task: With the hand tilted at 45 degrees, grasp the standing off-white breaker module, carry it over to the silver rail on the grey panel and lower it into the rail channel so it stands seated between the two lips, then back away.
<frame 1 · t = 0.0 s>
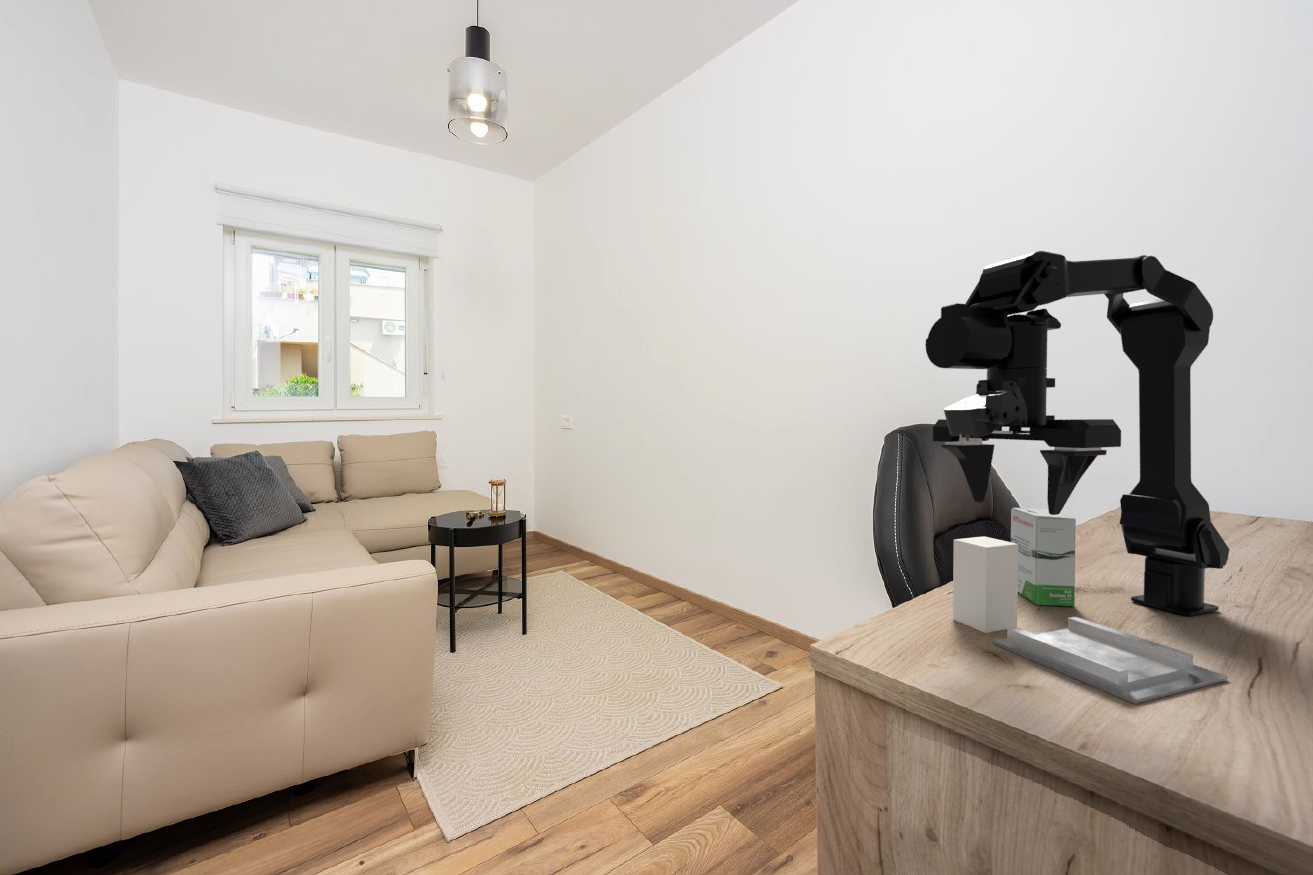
hand: (1014, 508, 64), 15 cm above the table, tool pointing down, fingers open, 9 cm apart
rail panel: (1094, 661, 58), on the table
module: (984, 623, 69), on the table
ink box: (1040, 597, 79), on the table
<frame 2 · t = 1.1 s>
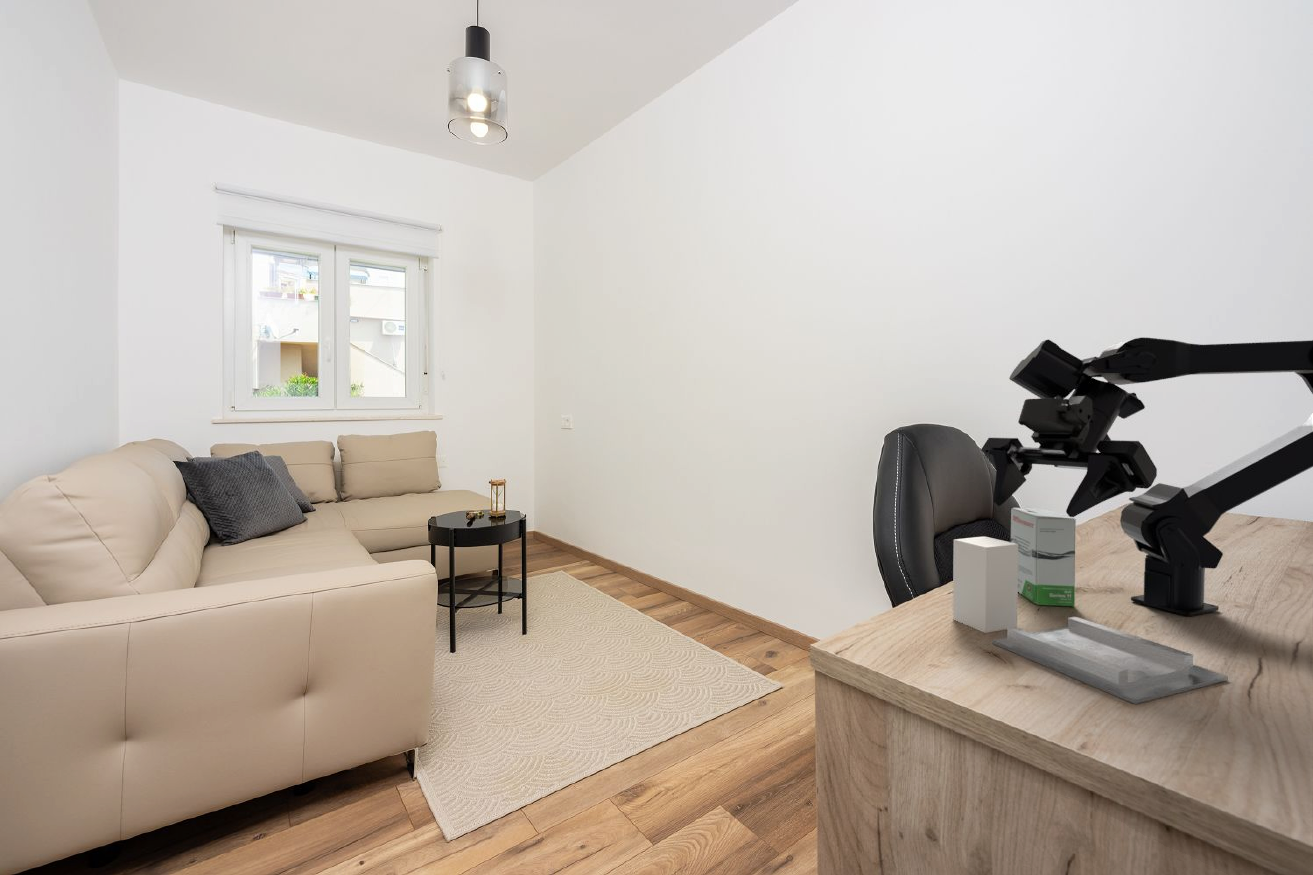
hand: (1030, 509, 71), 13 cm above the table, tool tilted 45°, fingers open, 9 cm apart
nothing on the table moved.
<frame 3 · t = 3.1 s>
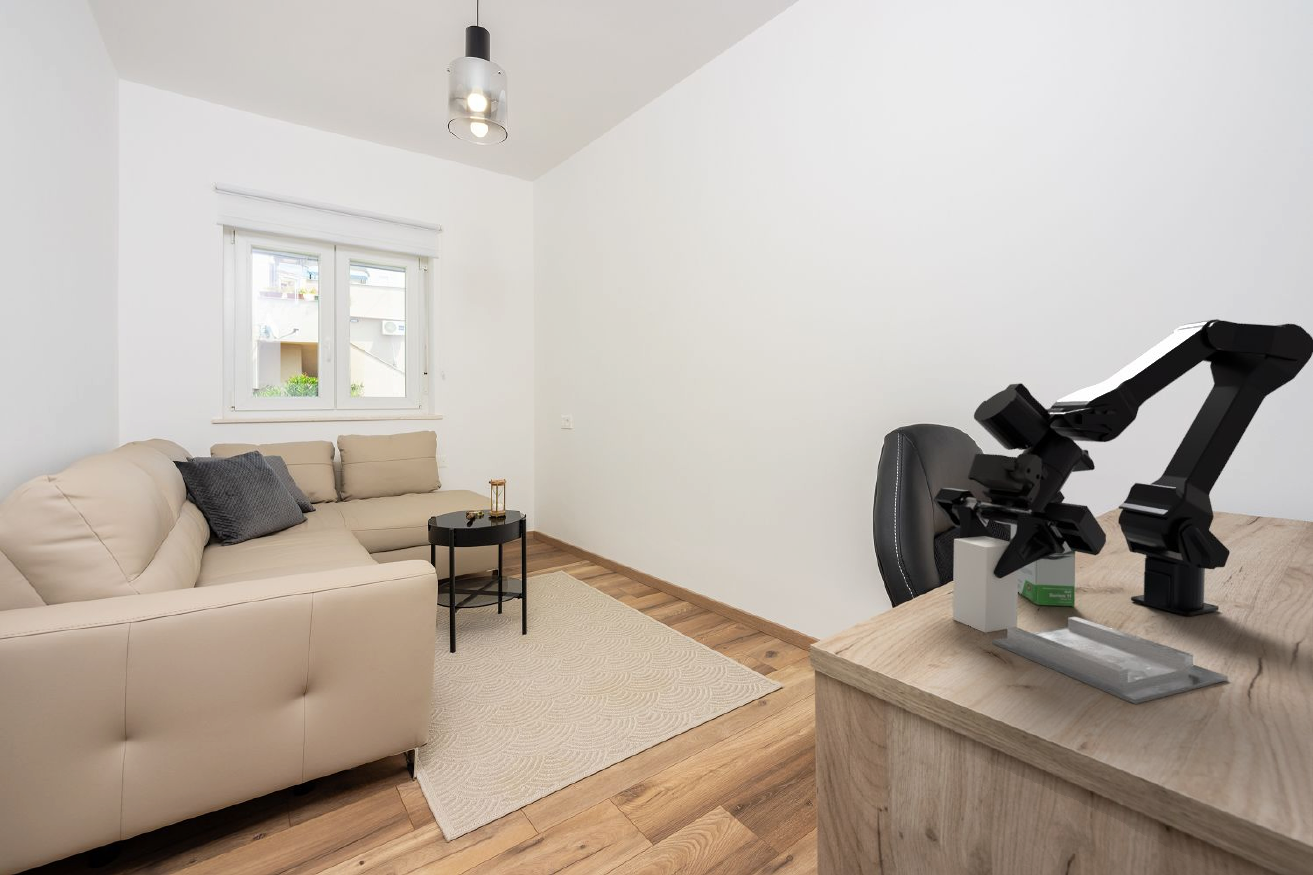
hand: (976, 570, 68), 7 cm above the table, tool tilted 45°, fingers closed on module, 5 cm apart
module: (984, 622, 69), on the table, touching gripper
everything else where it was.
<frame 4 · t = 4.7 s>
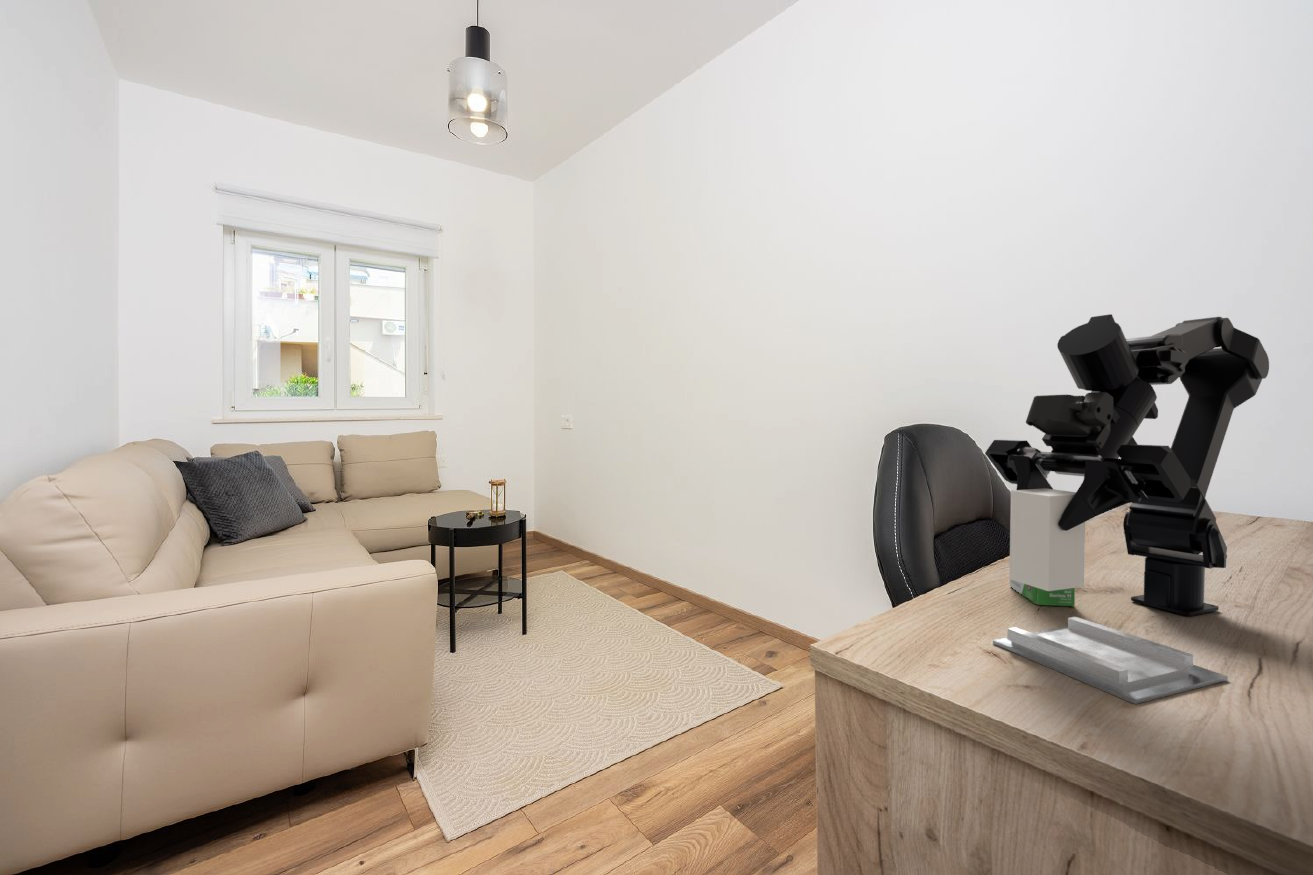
hand: (1037, 523, 61), 13 cm above the table, tool tilted 45°, fingers closed on module, 5 cm apart
module: (1045, 582, 62), point 7 cm above the table, touching gripper
everything else where it was.
when the fingers open (8 cm above the table, at t = 6.5 s): module stays where it is, resting on rail panel.
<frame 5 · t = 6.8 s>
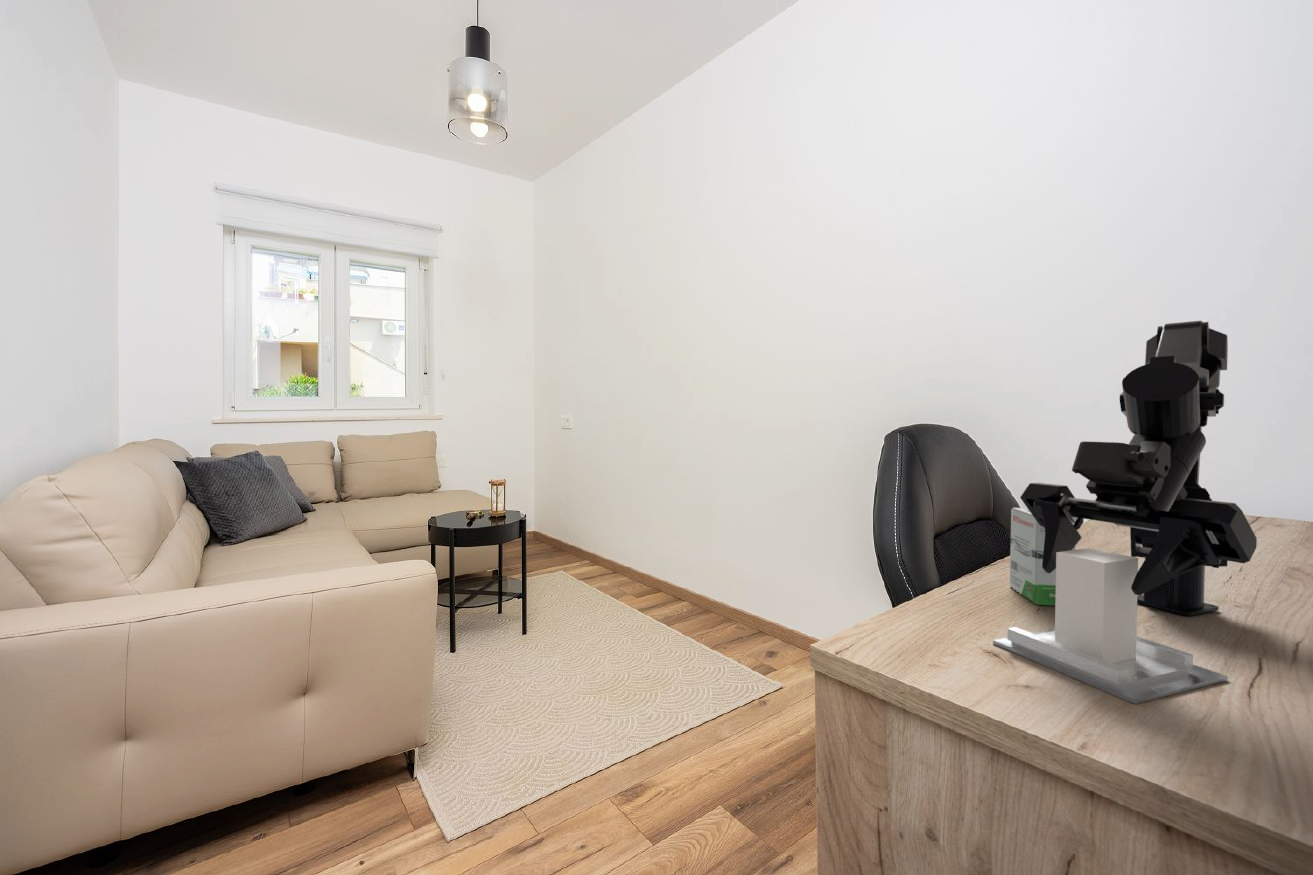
hand: (1087, 580, 57), 9 cm above the table, tool tilted 45°, fingers open, 8 cm apart
module: (1094, 652, 58), point 1 cm above the table, touching rail panel
everything else where it was.
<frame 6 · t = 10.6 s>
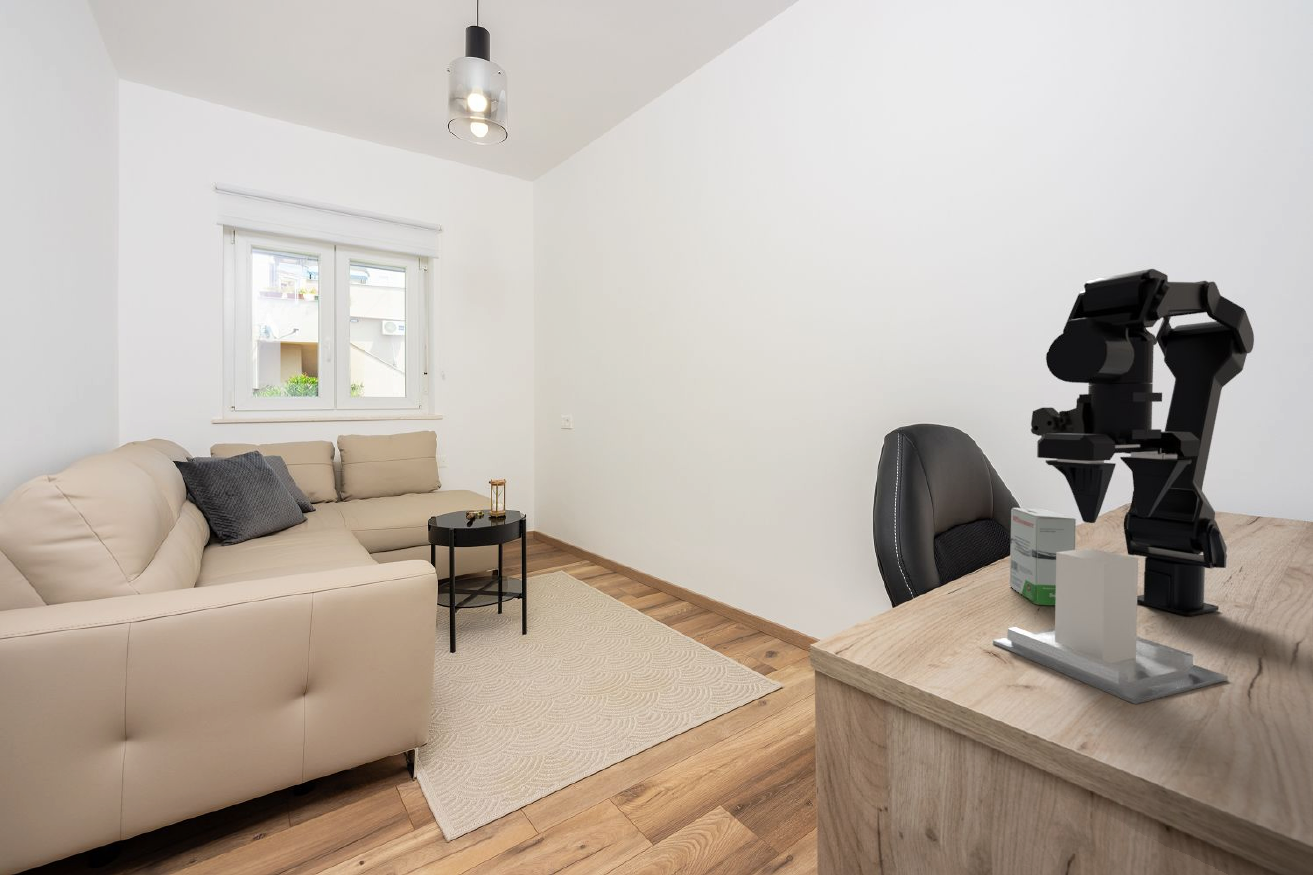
hand: (1116, 519, 66), 13 cm above the table, tool pointing down, fingers open, 9 cm apart
nothing on the table moved.
at the end: module inside the target area on the rail panel (0.0 cm from its centre), point 1.0 cm above the rail panel's base; module tilted 0°; the gripper is holding nothing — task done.
